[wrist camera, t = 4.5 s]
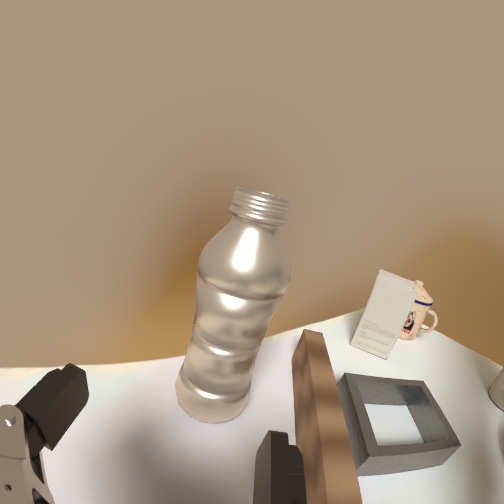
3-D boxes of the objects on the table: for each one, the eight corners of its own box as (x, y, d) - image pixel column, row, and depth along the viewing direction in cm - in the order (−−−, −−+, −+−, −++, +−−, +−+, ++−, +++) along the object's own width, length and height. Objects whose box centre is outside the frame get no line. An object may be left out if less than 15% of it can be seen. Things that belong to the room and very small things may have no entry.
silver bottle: (180, 378, 26) (218, 180, 21) (242, 391, 26) (301, 202, 21) (166, 422, 19) (206, 181, 15) (242, 437, 20) (323, 211, 15)
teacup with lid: (374, 324, 51) (395, 273, 48) (390, 318, 57) (408, 272, 54) (419, 352, 42) (445, 298, 40) (430, 341, 48) (452, 293, 45)
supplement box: (389, 343, 44) (416, 282, 41) (386, 361, 38) (419, 291, 35) (355, 329, 48) (380, 267, 45) (347, 344, 41) (377, 274, 38)
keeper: (332, 393, 28) (344, 372, 28) (410, 400, 28) (423, 380, 27) (349, 476, 16) (369, 456, 16) (441, 464, 16) (461, 445, 15)
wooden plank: (291, 359, 34) (303, 328, 33) (308, 363, 34) (322, 333, 33) (297, 529, 11) (327, 509, 10) (328, 528, 11) (362, 506, 10)
